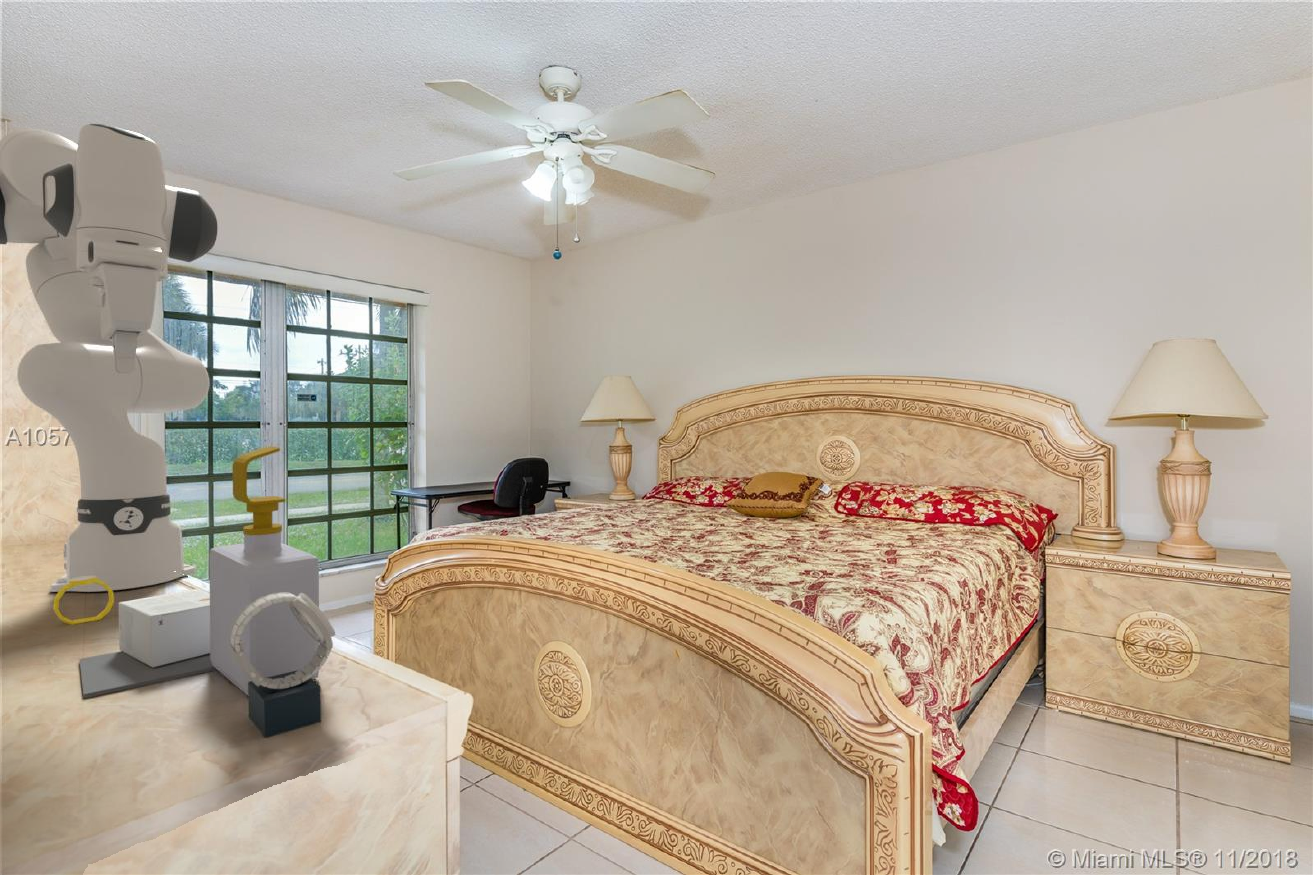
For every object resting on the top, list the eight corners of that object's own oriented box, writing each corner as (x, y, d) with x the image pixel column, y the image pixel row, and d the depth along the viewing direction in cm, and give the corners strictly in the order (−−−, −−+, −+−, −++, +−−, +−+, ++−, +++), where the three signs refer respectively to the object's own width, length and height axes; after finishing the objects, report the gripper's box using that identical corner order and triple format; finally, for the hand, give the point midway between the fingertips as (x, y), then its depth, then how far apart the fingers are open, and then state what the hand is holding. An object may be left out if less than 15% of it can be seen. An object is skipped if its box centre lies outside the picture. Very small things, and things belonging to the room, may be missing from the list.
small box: (117, 650, 75) (150, 669, 69) (117, 601, 75) (149, 616, 69) (198, 632, 82) (235, 649, 76) (198, 587, 82) (234, 600, 76)
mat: (79, 662, 73) (79, 659, 73) (229, 634, 82) (229, 631, 82) (83, 698, 63) (83, 694, 63) (252, 662, 73) (252, 658, 73)
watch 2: (344, 714, 59) (342, 592, 59) (240, 745, 54) (237, 610, 54) (324, 696, 63) (322, 581, 63) (225, 722, 58) (222, 597, 58)
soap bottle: (321, 679, 67) (321, 449, 66) (248, 700, 62) (246, 452, 61) (275, 649, 75) (274, 443, 74) (207, 665, 70) (205, 444, 69)
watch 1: (57, 631, 85) (51, 585, 85) (55, 626, 87) (49, 582, 87) (117, 617, 90) (111, 574, 89) (113, 613, 91) (108, 571, 91)
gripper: (86, 270, 88) (88, 375, 88) (94, 240, 73) (96, 367, 73) (146, 277, 92) (147, 377, 93) (165, 251, 77) (167, 370, 77)
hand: (125, 372), depth 83 cm, fingers closed
